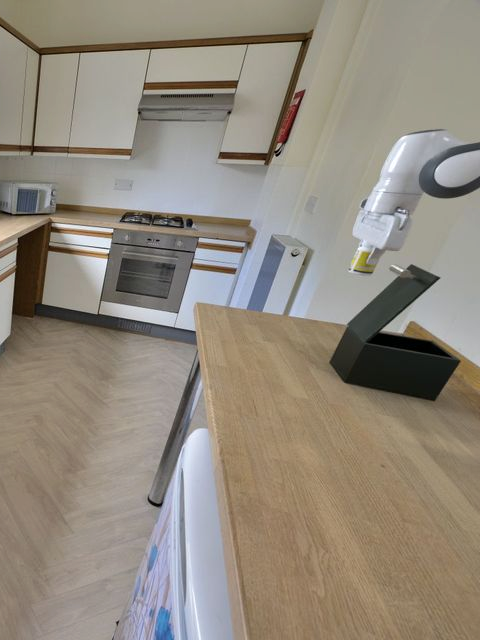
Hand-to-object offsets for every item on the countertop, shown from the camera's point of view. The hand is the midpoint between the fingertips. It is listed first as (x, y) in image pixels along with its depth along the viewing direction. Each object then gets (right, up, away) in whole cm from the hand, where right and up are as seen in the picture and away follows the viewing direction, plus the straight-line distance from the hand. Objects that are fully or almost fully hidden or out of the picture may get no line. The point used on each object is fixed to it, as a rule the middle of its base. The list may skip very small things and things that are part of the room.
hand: (365, 261), depth 105 cm
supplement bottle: (0, -3, +1) cm, 3 cm away
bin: (-8, -29, -11) cm, 32 cm away
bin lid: (-11, -12, -17) cm, 24 cm away
